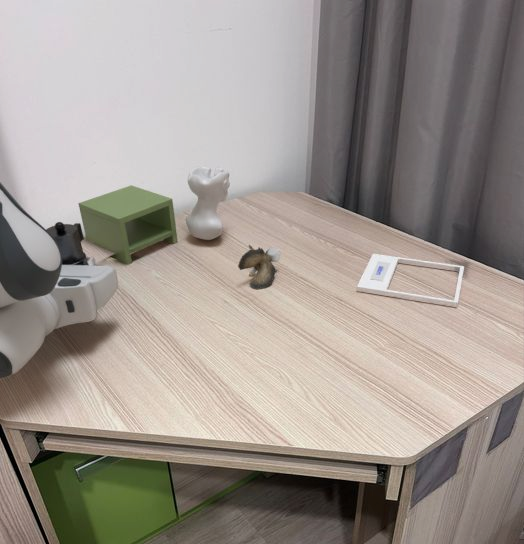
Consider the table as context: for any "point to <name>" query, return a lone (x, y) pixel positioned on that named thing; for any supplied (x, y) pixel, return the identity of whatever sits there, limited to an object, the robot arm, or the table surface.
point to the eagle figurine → (260, 265)
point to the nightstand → (128, 221)
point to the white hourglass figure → (207, 201)
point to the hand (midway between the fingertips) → (71, 260)
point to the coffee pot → (69, 242)
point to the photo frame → (382, 273)
